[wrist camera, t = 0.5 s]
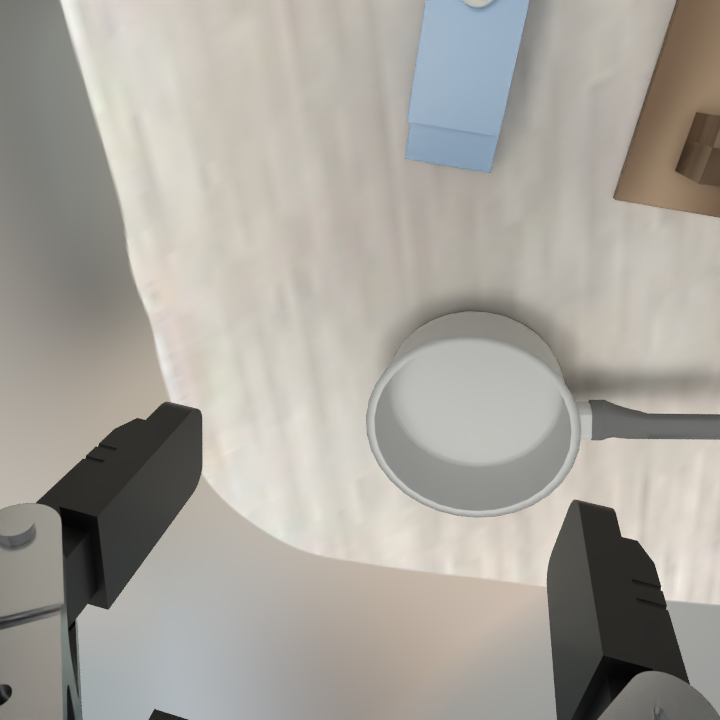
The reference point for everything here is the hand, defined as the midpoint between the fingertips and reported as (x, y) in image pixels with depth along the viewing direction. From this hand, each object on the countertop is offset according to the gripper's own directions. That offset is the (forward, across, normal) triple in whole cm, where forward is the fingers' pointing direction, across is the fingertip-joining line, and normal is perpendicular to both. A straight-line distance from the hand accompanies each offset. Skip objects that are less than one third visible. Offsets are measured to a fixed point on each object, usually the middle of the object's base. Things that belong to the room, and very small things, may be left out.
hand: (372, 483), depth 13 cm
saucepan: (+23, -7, +9) cm, 26 cm away
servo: (+24, +1, -9) cm, 25 cm away
